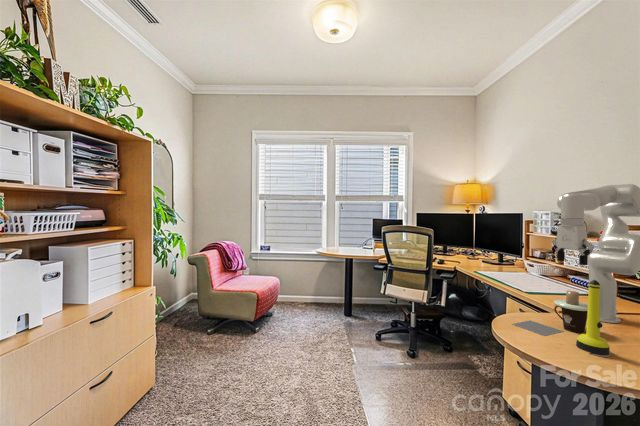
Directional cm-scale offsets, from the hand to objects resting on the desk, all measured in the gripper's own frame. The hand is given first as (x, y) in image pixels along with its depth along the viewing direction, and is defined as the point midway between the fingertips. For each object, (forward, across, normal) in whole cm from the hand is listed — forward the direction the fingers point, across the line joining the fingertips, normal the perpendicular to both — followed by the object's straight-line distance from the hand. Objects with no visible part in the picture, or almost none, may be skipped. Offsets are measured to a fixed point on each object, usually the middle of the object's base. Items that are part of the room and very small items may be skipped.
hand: (571, 262), depth 127 cm
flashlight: (+27, +20, -14) cm, 37 cm away
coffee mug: (+28, +3, -3) cm, 28 cm away
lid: (+18, +3, -3) cm, 18 cm away
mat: (+27, +1, -17) cm, 32 cm away
